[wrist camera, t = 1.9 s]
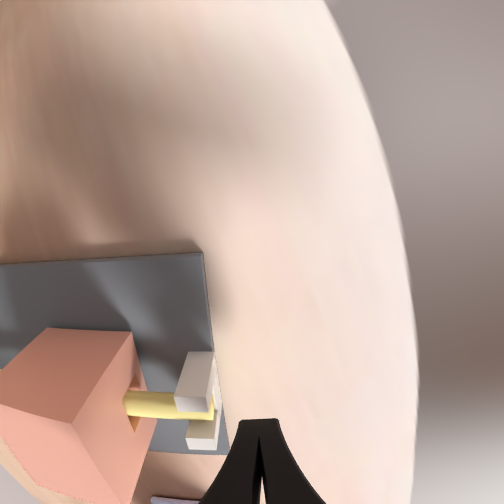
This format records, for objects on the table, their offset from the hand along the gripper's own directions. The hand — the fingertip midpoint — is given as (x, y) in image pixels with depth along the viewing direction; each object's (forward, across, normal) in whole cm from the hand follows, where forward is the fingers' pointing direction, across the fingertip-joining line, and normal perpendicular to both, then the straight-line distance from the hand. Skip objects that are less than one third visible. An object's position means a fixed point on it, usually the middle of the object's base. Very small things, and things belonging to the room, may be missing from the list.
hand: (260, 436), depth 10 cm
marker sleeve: (+4, +8, 0) cm, 9 cm away
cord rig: (+4, +14, 0) cm, 15 cm away
